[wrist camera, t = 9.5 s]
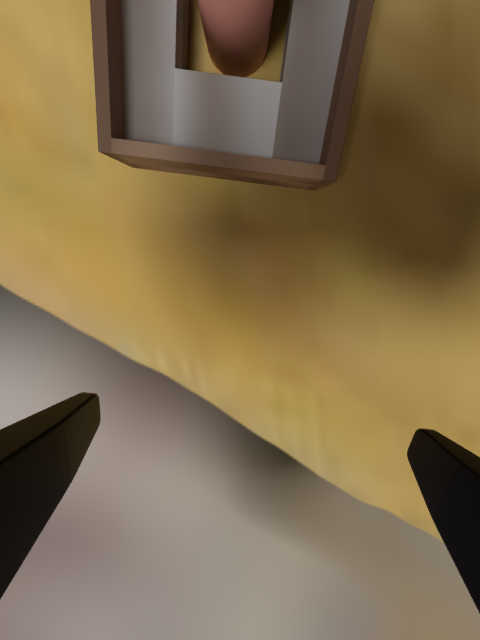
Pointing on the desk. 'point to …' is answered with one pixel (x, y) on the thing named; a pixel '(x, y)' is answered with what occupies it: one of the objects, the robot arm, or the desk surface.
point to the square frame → (226, 95)
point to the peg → (236, 33)
